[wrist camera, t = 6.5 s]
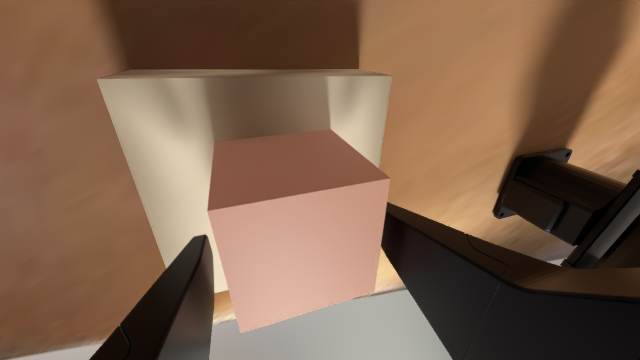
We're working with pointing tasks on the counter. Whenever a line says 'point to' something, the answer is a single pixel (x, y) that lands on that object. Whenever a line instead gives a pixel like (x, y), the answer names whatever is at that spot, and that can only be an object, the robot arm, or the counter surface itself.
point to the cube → (295, 223)
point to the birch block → (227, 130)
